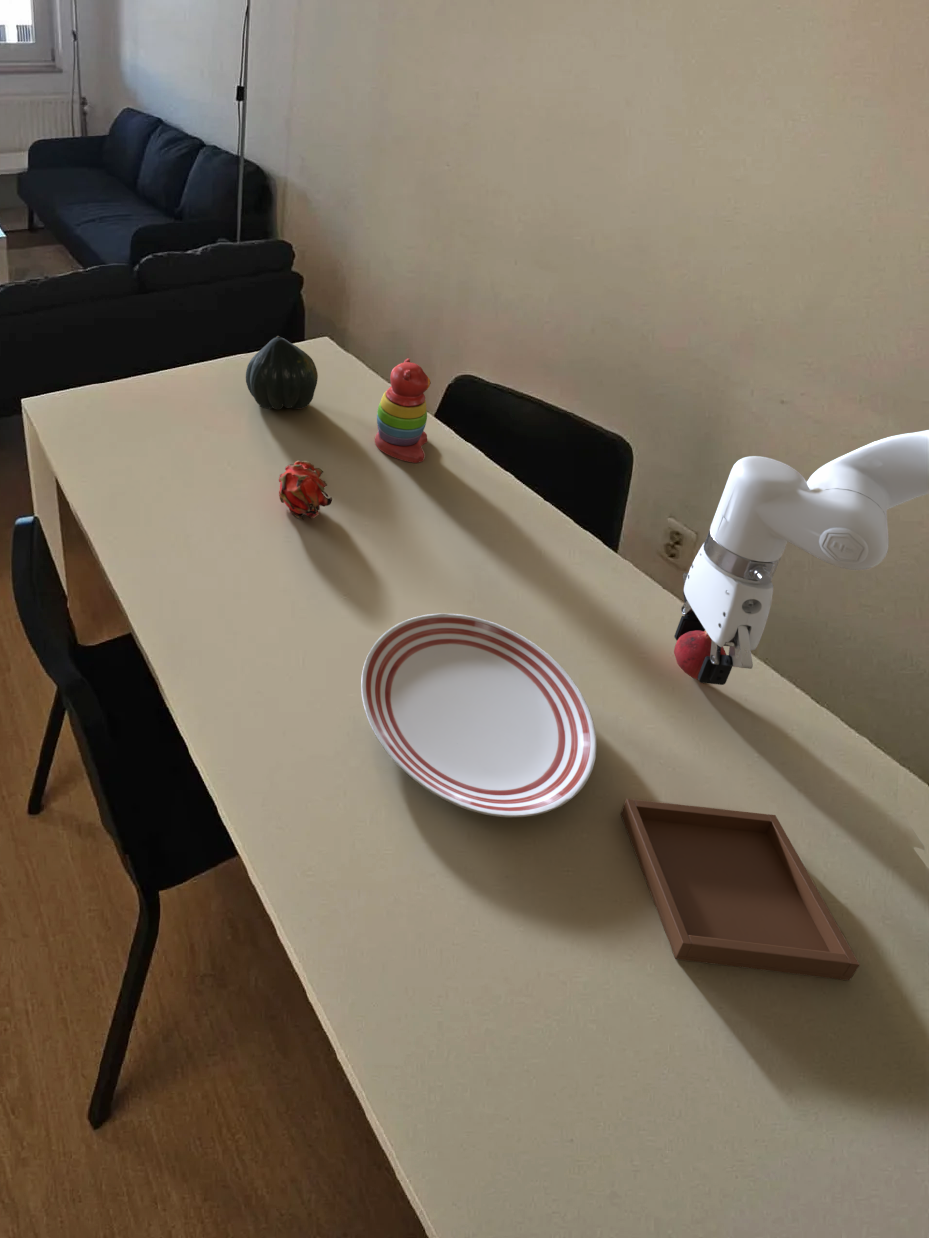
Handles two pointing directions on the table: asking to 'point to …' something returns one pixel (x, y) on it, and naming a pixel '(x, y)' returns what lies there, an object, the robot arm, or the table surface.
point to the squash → (281, 376)
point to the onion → (693, 651)
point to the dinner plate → (478, 715)
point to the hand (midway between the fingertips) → (698, 659)
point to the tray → (734, 891)
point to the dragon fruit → (303, 489)
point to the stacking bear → (403, 414)
